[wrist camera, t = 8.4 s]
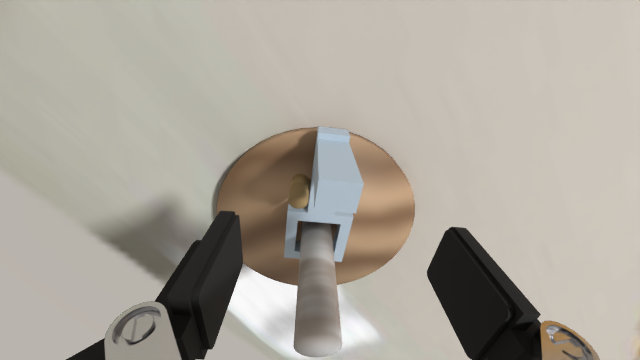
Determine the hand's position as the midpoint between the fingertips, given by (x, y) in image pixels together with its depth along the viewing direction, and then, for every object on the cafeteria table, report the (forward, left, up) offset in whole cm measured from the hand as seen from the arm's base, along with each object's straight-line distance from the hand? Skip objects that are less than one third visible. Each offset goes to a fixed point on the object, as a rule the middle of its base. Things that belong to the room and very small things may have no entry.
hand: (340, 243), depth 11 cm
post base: (-8, +3, -12) cm, 14 cm away
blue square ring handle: (-4, +2, -10) cm, 11 cm away
